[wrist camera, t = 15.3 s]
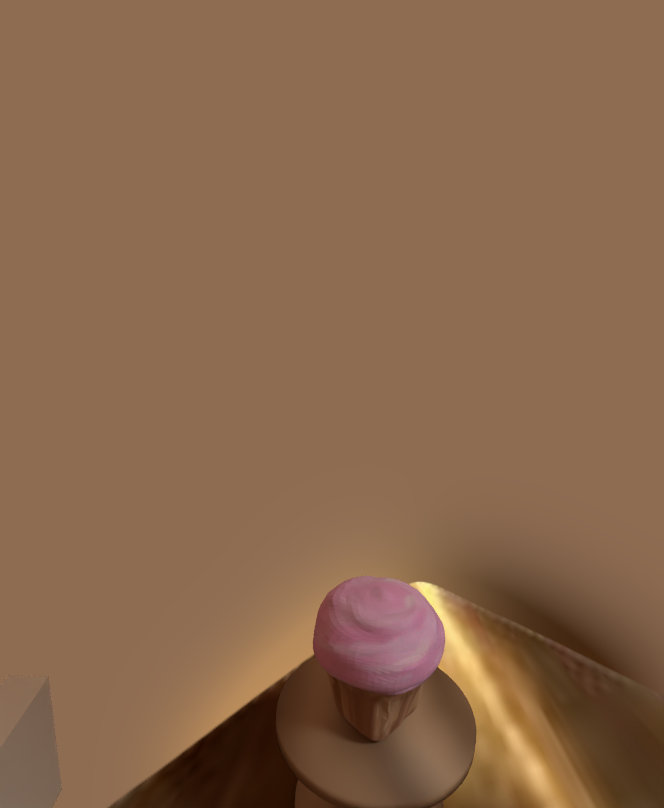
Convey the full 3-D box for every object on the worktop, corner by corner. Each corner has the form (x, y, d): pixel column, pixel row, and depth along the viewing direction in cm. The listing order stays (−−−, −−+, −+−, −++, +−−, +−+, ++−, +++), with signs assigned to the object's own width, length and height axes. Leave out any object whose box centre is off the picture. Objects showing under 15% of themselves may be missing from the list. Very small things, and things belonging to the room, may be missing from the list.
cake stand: (410, 716, 53) (418, 631, 50) (501, 873, 40) (518, 769, 37) (256, 755, 48) (257, 663, 46) (304, 945, 35) (308, 832, 33)
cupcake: (388, 792, 36) (400, 653, 33) (284, 716, 41) (287, 591, 38) (457, 706, 42) (472, 585, 39) (360, 651, 47) (367, 541, 45)
